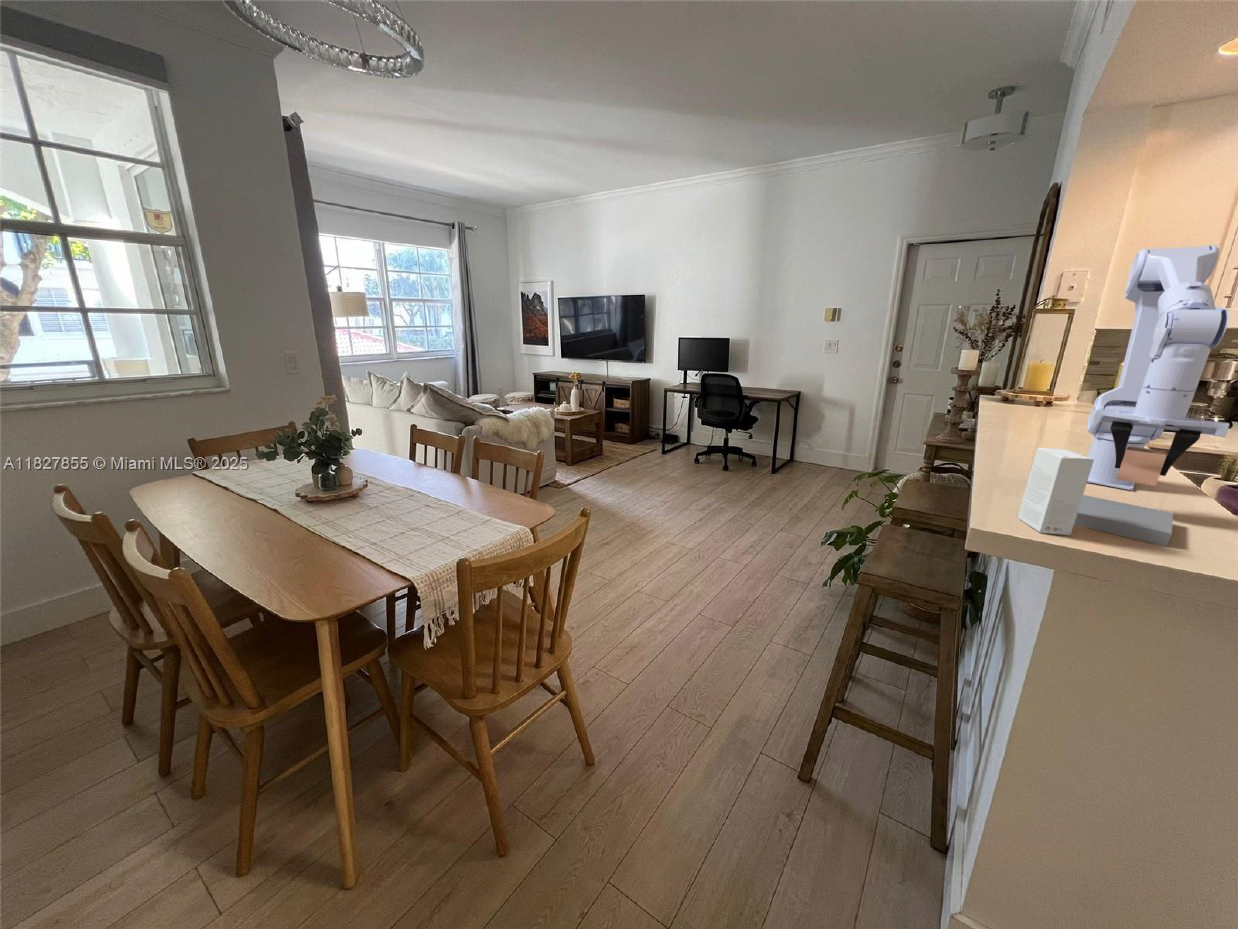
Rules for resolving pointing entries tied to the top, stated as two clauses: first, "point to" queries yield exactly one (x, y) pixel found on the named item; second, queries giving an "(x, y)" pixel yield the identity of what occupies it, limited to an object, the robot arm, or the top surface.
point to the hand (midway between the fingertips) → (1139, 470)
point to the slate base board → (1125, 520)
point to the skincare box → (1055, 490)
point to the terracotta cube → (1142, 465)
